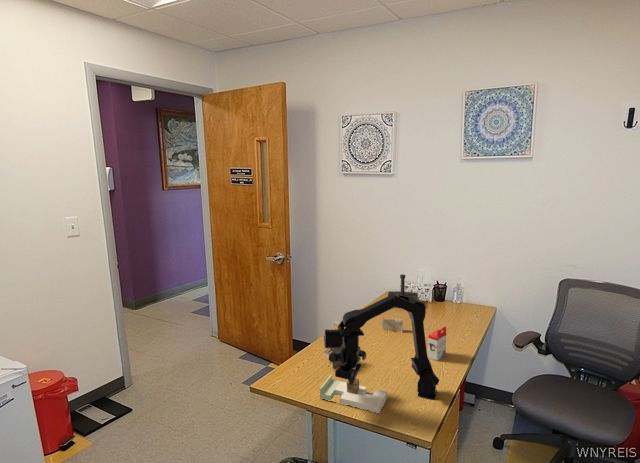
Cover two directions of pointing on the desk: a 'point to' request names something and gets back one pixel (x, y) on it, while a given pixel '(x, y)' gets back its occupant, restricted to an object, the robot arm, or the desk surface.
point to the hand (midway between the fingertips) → (351, 383)
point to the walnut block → (353, 386)
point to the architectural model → (329, 353)
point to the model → (393, 324)
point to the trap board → (353, 395)
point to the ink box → (437, 344)
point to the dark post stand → (408, 294)
